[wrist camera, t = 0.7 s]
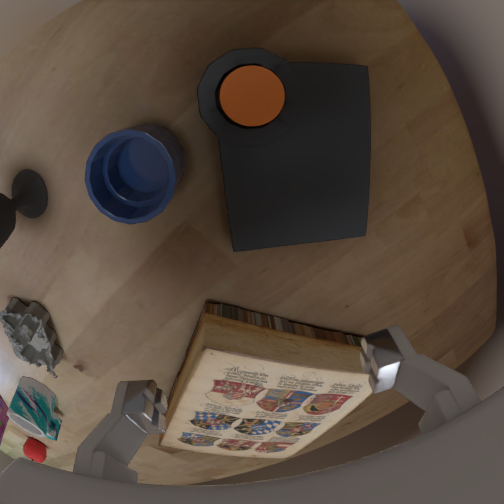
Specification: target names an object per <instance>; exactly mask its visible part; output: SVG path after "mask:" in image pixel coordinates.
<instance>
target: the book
mask: <svg viewBox="0 0 504 504" xmlns="http://www.w3.org/2000/svg"><path fill="white" fill-rule="evenodd" d="M361 348H362V345H361V338H360V337H355V336H352V335H344V333H341V332H331V331H325V330H322V329H317V328H313V327H309V326H306V325H301V324H297V323H293V322H292V323H289V322H288V320H287V319H284V318H279V317H276V316H275V317H272V316H270V315H262V314H260V313H256V312H249V311H245V310H242V309H240V308H238V307H232V306H228V305H223V304H222V303H221V304H217V305H213V304H212V303H206V304H205V306H204V308H203V311H202V313H201V316H200V319H199V321H198V323H197V326H196V328H195V331H194V334H193V336H192V338H191V341H190V344H189V347H188V350H187V354H186V361H185V363H184V366H183V368H182V371H181V373H180V374H179V375H177V378H176V380H175V383H174V386H173V390H172V392H171V394H170V397H169V401H168V402H167V403H168V407H167V411H166V413H165V414H164V415H163V416H164V417H165V418H166V428H165V433H160V435H159V446H164V447H169V448H174V449H180V450H186V451H192V452H199V453H206V454H214V455H224V456H235V457H249V458H281V459H286V458H289V457H291V456H292V455H294V454H295V453H297V452H298V451H299V450H301V449H302V448H304V447H305V446H307V445H308V444H310V443H311V442H312V441H314V440H315V439H316V438H318V437H319V436H321V435H322V434H323V433H325V432H326V431H327V430H328V429H330V428H331V427H332V426H334V425H335V424H336V423H337V422H339V421H340V420H341V419H342V418H344V417H345V416H346V415H347V414H349V413H350V412H351V411H352V410H353V409H354V408H356V407H357V406H358V405H359V404H360V403H361V402H363V401H364V400H365V399H366V398H367V397H368V396H369V395H370V394H371V393H373V391H372V389H371V387H370V384H369V382H368V379H369V374H367V373H365V372H364V370H363V367H362V364H361V360H360V350H361Z"/></svg>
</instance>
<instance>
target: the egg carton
mask: <svg viewBox="0 0 504 504" xmlns="http://www.w3.org/2000/svg"><path fill="white" fill-rule="evenodd" d="M48 319H49V313H48V312H47V311H46V310H44V309H43V308H42V307H41V306H40V305H39V304H38V303H35V302H33V301H32V302H31V304H30V306H29V307H28V306H25V305H24V304H22V303H21V302H20V301H19V299H16V298H13V299H12V300H11V302H10V303H9V305H8V306H7V307H6V309H5V310H4V311H2V312H0V320H1V322H3V327H4V328H5V334H6V335H7V336H8V338H9V341H10V342H11V344H12V346H13V350H14V353H15V355H16V356H17V357H18V358H19V359H21V360H23V361H26V362H28V363H29V364H36V365H37V367H40V366H41V365H46V366H47V368H48V369H47V372H49V373H51V374H53V376H54V378H57V376H56V374H55V372H54V370H53V369H54V368H55V366H56V365H57V364H59V362H60V360H61V357H62V354H63V350H62V349H61V348H60V347H58V346H56V345H55V343H54V340H55V339H56V334H55V332H54V330H53V329H51V328H49V327H48V326H47V324H46V322H47V320H48Z"/></svg>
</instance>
